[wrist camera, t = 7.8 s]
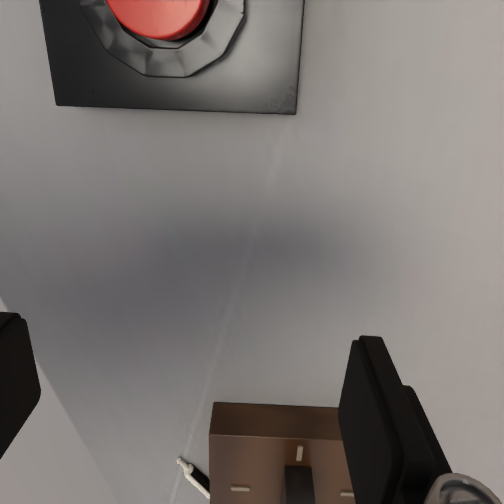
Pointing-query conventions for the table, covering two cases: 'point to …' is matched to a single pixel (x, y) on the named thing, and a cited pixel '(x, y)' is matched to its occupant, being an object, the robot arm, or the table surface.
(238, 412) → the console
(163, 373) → the table surface
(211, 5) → the black button base
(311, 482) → the dial knob
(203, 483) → the pen
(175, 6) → the button
